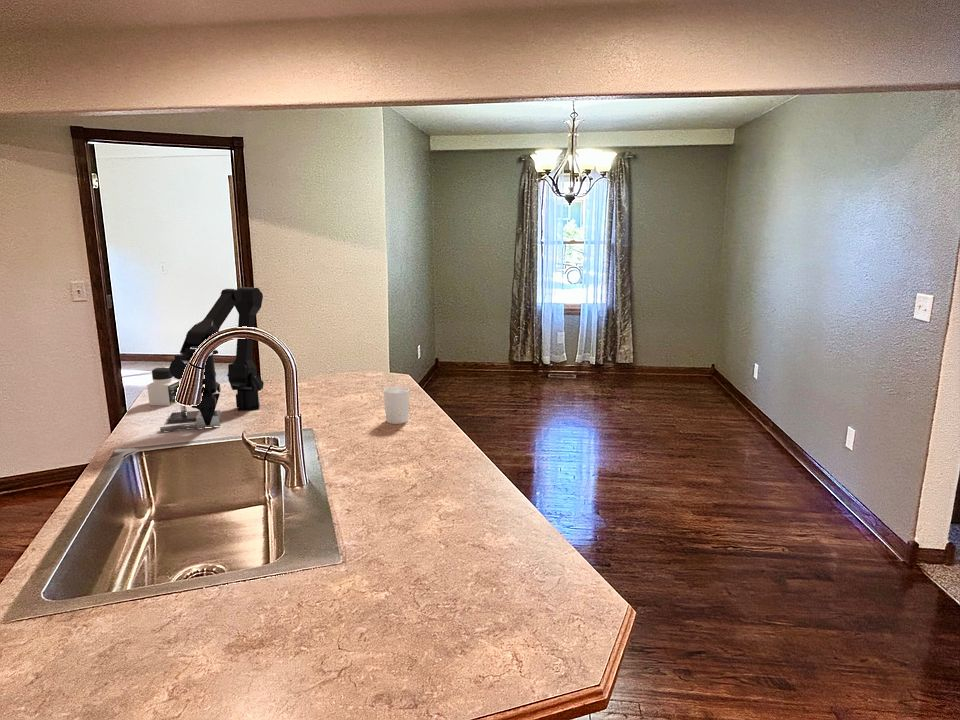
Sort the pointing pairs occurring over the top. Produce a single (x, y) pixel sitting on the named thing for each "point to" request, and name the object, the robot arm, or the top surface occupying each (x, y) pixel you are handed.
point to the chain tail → (177, 427)
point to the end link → (214, 422)
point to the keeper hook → (183, 416)
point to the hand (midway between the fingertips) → (209, 422)
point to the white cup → (396, 404)
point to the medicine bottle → (162, 387)
